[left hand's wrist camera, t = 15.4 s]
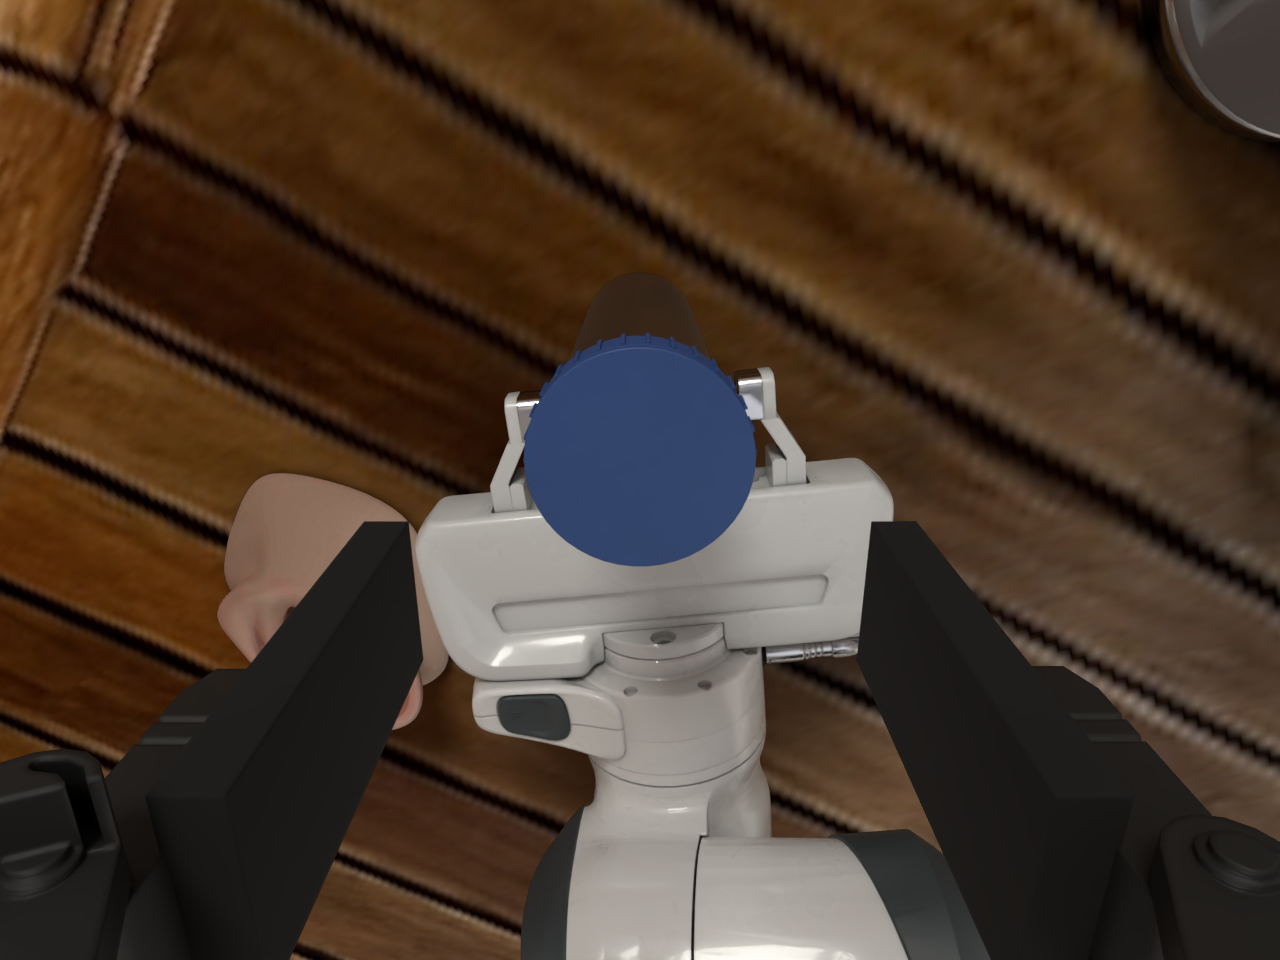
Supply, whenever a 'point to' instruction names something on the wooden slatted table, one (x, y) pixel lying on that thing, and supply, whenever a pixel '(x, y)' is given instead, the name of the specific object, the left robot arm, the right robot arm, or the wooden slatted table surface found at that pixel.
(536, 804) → the wooden slatted table surface
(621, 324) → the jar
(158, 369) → the wooden slatted table surface
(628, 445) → the lid
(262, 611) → the anatomical model
